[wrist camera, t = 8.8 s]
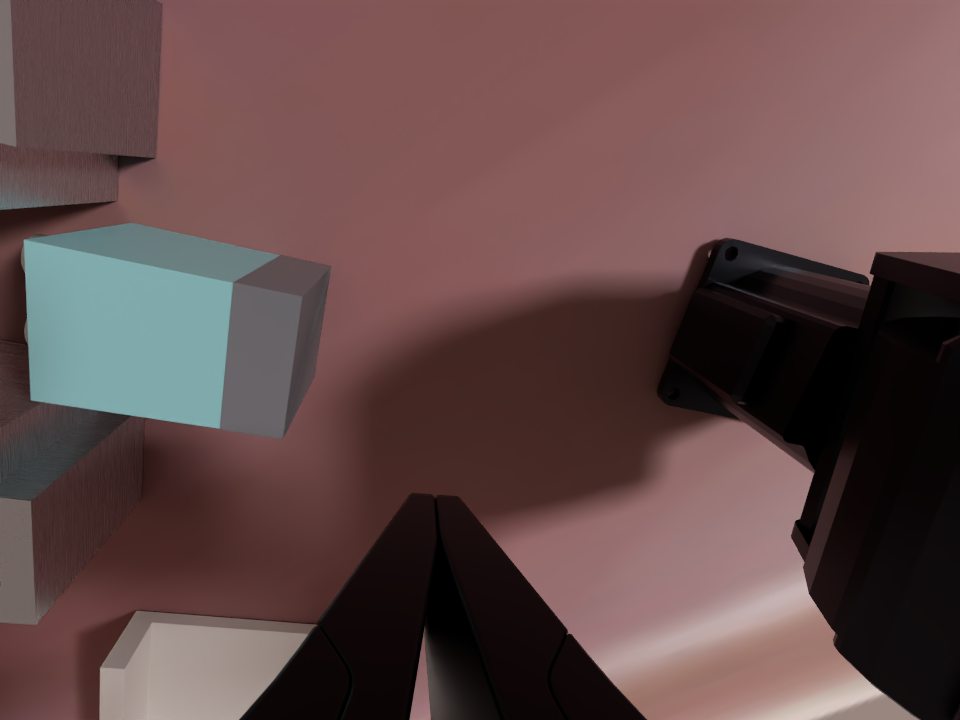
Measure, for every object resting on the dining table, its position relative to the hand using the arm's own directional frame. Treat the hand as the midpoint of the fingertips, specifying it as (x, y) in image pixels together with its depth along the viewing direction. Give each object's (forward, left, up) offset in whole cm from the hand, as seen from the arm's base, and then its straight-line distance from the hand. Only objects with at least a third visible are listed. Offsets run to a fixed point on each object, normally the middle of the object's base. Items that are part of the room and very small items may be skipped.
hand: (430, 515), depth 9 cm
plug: (+6, 0, -10) cm, 12 cm away
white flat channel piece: (+3, +17, -10) cm, 20 cm away
